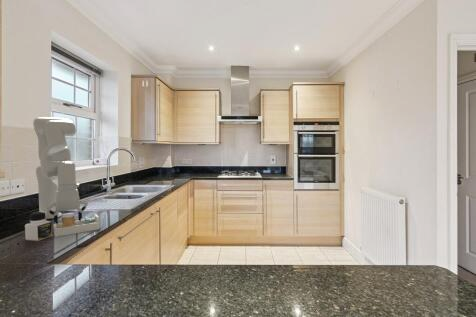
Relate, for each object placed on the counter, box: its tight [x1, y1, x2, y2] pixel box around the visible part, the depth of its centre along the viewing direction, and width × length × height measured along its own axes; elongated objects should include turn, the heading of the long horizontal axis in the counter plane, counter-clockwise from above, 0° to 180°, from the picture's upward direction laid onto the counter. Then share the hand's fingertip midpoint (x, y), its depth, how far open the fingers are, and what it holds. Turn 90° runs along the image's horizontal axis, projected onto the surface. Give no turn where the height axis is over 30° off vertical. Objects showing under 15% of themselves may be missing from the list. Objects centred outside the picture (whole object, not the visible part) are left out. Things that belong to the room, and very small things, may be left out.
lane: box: [53, 213, 101, 237], centre depth 138 cm, size 11×19×6 cm, turn 126°
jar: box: [60, 212, 76, 227], centre depth 136 cm, size 6×6×8 cm
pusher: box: [83, 216, 95, 224], centre depth 141 cm, size 8×4×4 cm, turn 36°
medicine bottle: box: [24, 211, 53, 242], centre depth 126 cm, size 7×7×12 cm
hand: (68, 221), depth 136 cm, fingers open, 9 cm apart
